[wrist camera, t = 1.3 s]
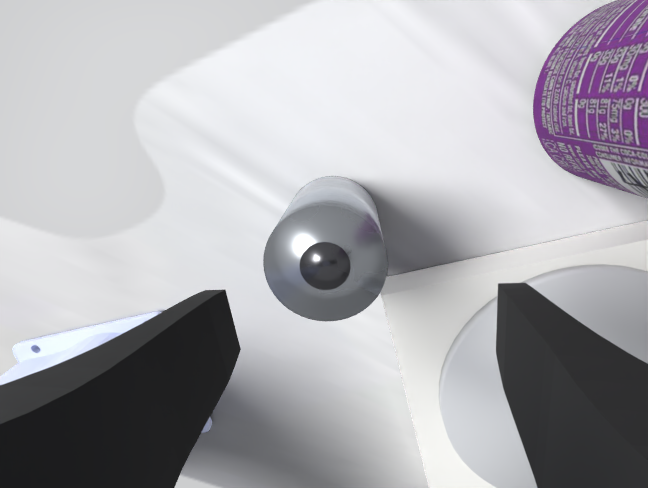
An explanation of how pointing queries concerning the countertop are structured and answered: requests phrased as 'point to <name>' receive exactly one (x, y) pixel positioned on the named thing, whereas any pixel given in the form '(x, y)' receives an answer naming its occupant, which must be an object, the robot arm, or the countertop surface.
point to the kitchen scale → (480, 342)
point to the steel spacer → (327, 251)
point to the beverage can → (599, 98)
